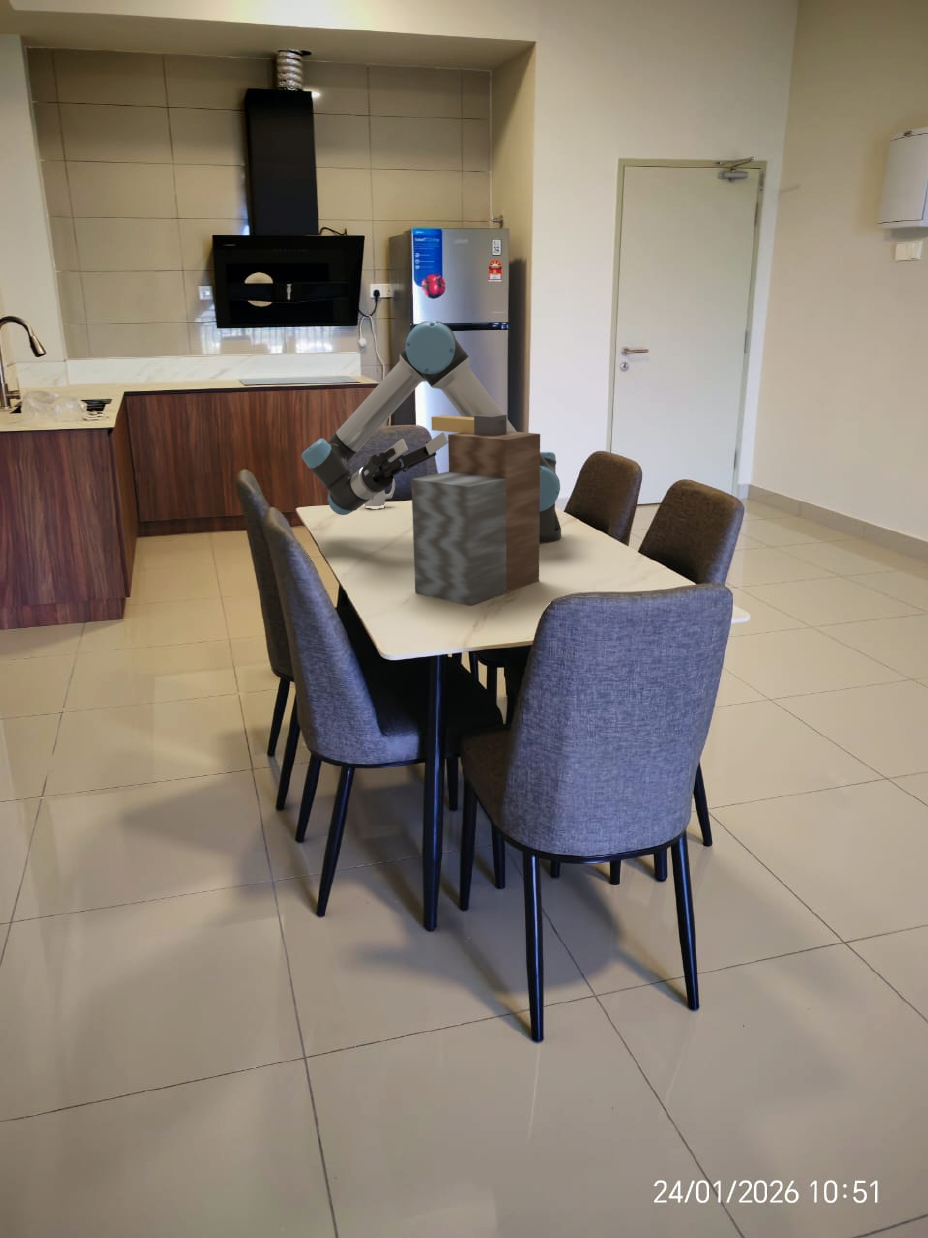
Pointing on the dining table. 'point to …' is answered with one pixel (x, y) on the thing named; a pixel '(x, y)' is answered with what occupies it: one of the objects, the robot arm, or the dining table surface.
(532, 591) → the dining table surface
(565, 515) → the dining table surface
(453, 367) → the robot arm
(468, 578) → the stand
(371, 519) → the dining table surface
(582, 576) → the dining table surface
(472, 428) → the block
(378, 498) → the mug
